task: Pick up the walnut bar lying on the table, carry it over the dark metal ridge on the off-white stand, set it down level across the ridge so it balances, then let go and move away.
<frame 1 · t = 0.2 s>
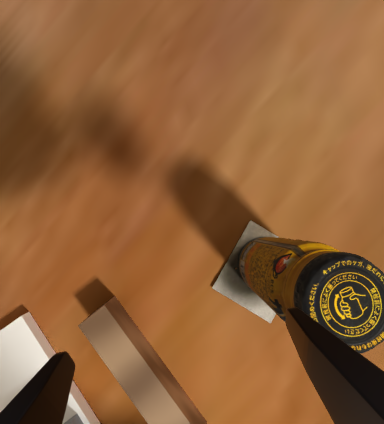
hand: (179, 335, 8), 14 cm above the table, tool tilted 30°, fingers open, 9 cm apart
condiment: (259, 270, 23), on the table
walnut bar: (148, 364, 22), on the table
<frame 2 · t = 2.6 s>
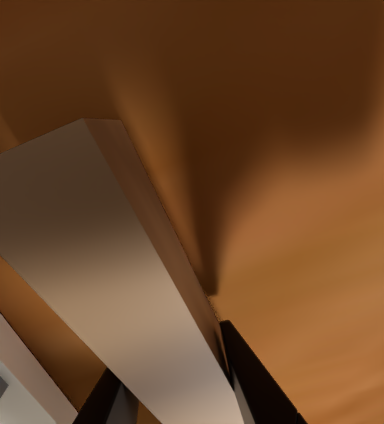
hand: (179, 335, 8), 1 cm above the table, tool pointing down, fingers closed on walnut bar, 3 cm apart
walnut bar: (177, 309, 9), on the table, touching gripper
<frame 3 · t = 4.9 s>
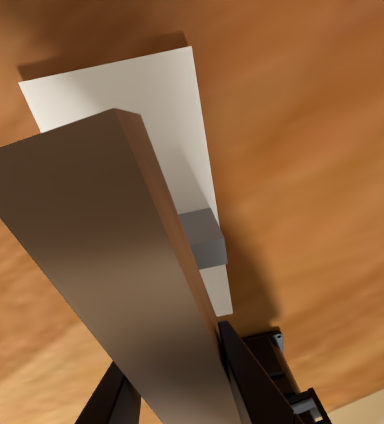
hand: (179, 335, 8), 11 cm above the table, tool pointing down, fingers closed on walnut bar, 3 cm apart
balance stand: (156, 224, 18), on the table
walnut bar: (178, 305, 10), point 10 cm above the table, touching gripper
when the fingers open (8 cm above the table, at t = 6.4 s): walnut bar stays where it is, resting on balance stand.
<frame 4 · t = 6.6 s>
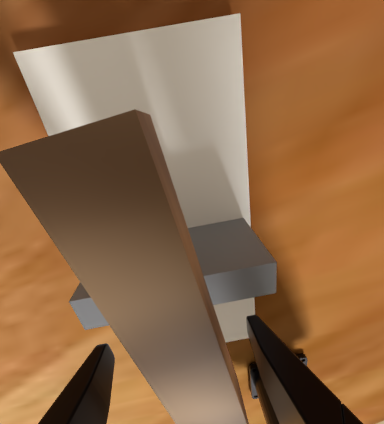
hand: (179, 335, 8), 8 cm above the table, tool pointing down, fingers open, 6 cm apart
balance stand: (175, 235, 16), on the table
walnut bar: (178, 296, 10), point 6 cm above the table, touching balance stand
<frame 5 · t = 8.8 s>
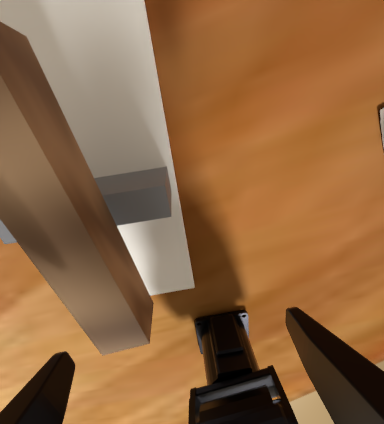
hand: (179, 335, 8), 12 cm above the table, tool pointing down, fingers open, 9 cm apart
balance stand: (110, 185, 17), on the table
walnut bar: (83, 214, 12), point 6 cm above the table, touching balance stand
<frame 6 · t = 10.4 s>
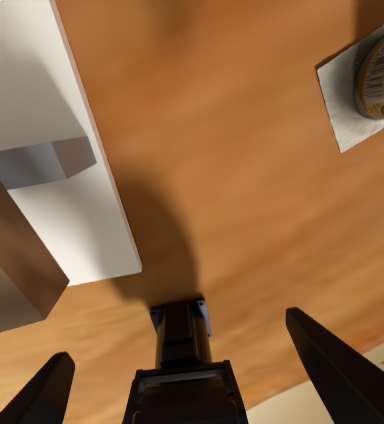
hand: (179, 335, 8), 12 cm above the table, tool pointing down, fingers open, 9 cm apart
balance stand: (35, 159, 16), on the table
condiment: (375, 84, 17), on the table
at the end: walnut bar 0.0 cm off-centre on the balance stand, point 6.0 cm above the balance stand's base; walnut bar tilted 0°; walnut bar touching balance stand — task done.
